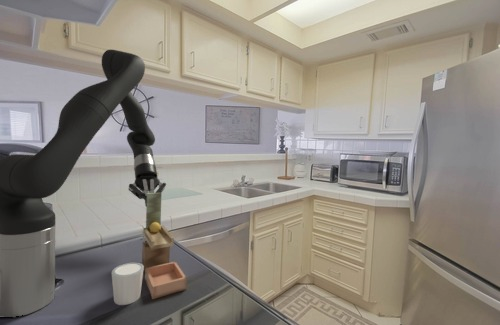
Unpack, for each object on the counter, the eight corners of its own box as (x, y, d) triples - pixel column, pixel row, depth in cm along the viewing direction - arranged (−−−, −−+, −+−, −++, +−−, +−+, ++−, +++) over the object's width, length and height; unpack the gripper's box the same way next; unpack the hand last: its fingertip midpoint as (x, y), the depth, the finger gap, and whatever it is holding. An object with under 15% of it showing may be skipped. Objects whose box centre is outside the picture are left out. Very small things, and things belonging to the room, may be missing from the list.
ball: (150, 234, 70) (150, 224, 70) (148, 231, 73) (148, 221, 73) (161, 233, 72) (161, 223, 72) (159, 230, 75) (159, 220, 75)
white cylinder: (129, 309, 51) (130, 278, 51) (103, 303, 53) (104, 273, 52) (149, 291, 58) (150, 264, 58) (125, 287, 59) (126, 260, 59)
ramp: (151, 249, 62) (152, 202, 62) (142, 232, 74) (143, 193, 74) (173, 245, 66) (175, 200, 65) (161, 230, 78) (162, 192, 77)
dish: (152, 299, 55) (152, 287, 55) (144, 278, 63) (145, 268, 63) (186, 289, 60) (186, 277, 59) (175, 271, 68) (175, 261, 68)
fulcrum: (144, 271, 67) (145, 244, 67) (142, 264, 71) (142, 239, 71) (169, 265, 71) (169, 240, 71) (165, 259, 75) (166, 235, 75)
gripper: (126, 161, 82) (130, 202, 73) (165, 162, 90) (172, 199, 80) (124, 174, 87) (127, 215, 77) (161, 174, 94) (168, 211, 85)
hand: (150, 207), depth 79 cm, fingers closed
